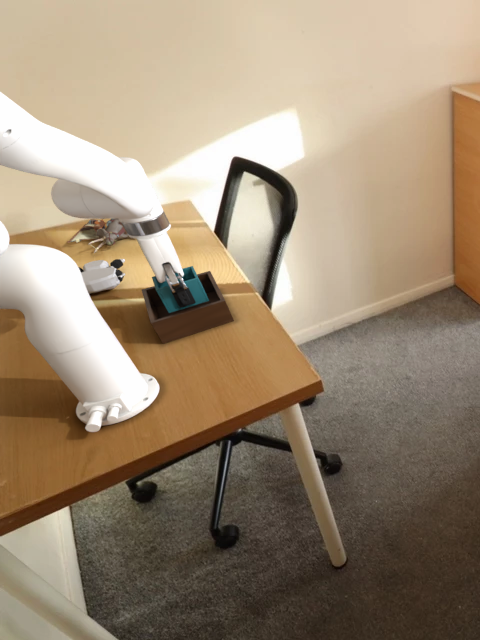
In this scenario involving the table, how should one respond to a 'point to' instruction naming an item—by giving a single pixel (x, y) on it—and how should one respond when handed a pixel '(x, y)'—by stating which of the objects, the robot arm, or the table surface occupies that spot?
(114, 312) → the table surface
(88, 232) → the figurine
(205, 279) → the crate
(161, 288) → the box
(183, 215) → the table surface
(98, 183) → the robot arm
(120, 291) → the table surface
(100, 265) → the robot toy
